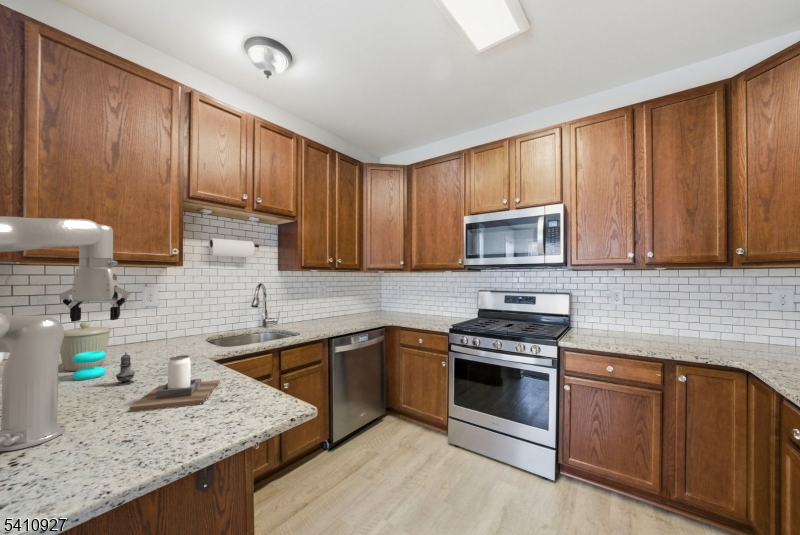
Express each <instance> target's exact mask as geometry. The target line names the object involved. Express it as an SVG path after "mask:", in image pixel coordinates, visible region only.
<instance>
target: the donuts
mask: <svg viewBox="0 0 800 535" xmlns="http://www.w3.org/2000/svg"><path fill="white" fill-rule="evenodd" d="M105 356H106V357H107V353H105V352H104V351H90V352H84V353H79V354H76V355H75V356H73V358H72V359H73V361H74V362H76V363H92V362H96V361H99V360H102V359H103V358H104V357H105ZM106 373H107V372H106V368H104V367H102V366H98V367H88V368H83V369H80V370H78V371H73V373H72V376H71V378H72V379H74V380H76V381H87V380H91V379H92V378H93V379H95V378H96V377H97V378H100V377H102V376H104V375H105V374H106ZM86 379H87V380H86Z"/></svg>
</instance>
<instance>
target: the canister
mask: <svg viewBox="0 0 800 535" xmlns="http://www.w3.org/2000/svg"><path fill="white" fill-rule="evenodd" d="M110 332H112V329H111V328H109V327H106V326H91V322H89V321H82V322H81V323H79V327H75V328H71V329H69V328H68V329H66V330H65V329H64V338H63V342H62V345H61V349H60V353H59V355H60V358H61V364H62V367H63V369H64V370H66V371H68V372H76V371H78V370H80V369H83V368H88V367H102V365H104V362H105V361H106V359H107V358H106V357H107V355H106V356H105V357H104V358H103V359H102V360H99V361H96V362H92V363H76V362H74V361H73V359H72V358H73V356H75V355H76V354H79V353H84V352H90V351H104V352H105V353H106V354H107V352H108V345H109V340H110Z"/></svg>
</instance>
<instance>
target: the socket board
mask: <svg viewBox="0 0 800 535" xmlns="http://www.w3.org/2000/svg"><path fill="white" fill-rule="evenodd" d="M219 383H220V384H221V381H220V379H216V380H207V381H202V378H197V379H196V378H195V379H191V380H190V386H189V387H187V388H176V389H168V382H167V383H165V384H162V385H161V384H160V385H158V386H157V387H155V388H154V389H153V390H151V391H150V392H148V393H147V394H145V395H144V396H142V397H141V398H140V399H139V400H137V401H136V402H135V403H134V404H132V405H130V406H129V412H130V413H132V412H131V411H134V412H141V411H140V410H143V411H150V410H149V409H153V410H159V409H158V408H162V409H168V408H167V407H172V408H176V407H175V406H181V407H186V406H185V405H191V406H194V405H193V404H200V403H204V402H205V401H206V402H207V400H208V399H209V398H210V397H211V395H212V394H213V393H214V392H213V390H214V389H215V388H216V387H217V386H218V384H219ZM218 387H219V386H218ZM218 387H217V388H218ZM217 388H216V389H217ZM216 389H215V390H216ZM212 392H213V393H212ZM211 393H212V394H211ZM210 394H211V395H210ZM209 396H210V397H209ZM208 397H209V398H208ZM207 398H208V399H207ZM206 399H207V400H206ZM206 402H205V403H206ZM205 403H204V404H205ZM200 405H201V404H200Z"/></svg>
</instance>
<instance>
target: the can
mask: <svg viewBox="0 0 800 535" xmlns="http://www.w3.org/2000/svg"><path fill="white" fill-rule="evenodd" d="M191 363H192V362H191V359H190V355H187V354H184V355H183V354H182V355H176V356H172V357H170V358H169V361H168V364H167V383H168V389H176V388H187V387H189V386H190V380H192V379H191V372H192V370H191V369H192V368H191V365H192V364H191Z"/></svg>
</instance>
